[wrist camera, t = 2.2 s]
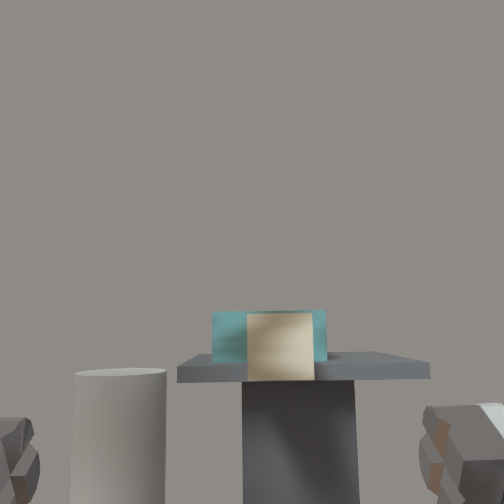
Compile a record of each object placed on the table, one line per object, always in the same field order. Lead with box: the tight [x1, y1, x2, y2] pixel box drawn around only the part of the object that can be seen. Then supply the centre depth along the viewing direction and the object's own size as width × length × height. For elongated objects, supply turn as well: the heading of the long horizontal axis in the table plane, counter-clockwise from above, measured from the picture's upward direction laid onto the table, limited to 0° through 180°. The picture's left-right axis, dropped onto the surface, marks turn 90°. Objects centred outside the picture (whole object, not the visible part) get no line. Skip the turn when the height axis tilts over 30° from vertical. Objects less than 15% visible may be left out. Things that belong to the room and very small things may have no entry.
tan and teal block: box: [212, 310, 327, 381], centre depth 32 cm, size 8×20×4 cm, turn 0°
